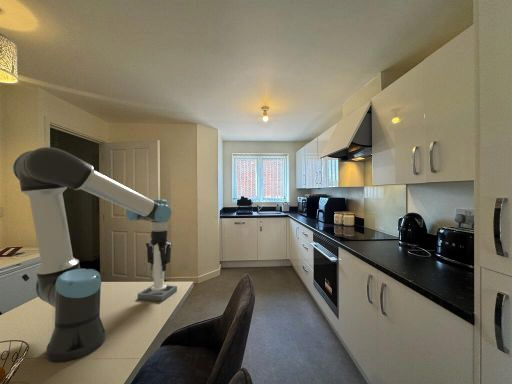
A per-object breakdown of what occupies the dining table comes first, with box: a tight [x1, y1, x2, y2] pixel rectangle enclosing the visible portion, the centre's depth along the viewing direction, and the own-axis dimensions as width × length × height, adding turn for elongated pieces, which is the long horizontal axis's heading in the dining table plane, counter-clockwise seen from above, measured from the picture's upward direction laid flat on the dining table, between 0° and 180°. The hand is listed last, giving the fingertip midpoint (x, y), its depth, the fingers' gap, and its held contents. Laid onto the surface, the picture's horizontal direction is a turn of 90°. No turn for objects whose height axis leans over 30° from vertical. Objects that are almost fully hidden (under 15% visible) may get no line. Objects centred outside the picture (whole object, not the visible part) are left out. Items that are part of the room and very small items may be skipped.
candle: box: [151, 243, 167, 291], centre depth 115 cm, size 7×7×25 cm
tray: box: [137, 284, 178, 302], centre depth 115 cm, size 13×13×2 cm
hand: (158, 277), depth 115 cm, fingers closed on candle, 3 cm apart
